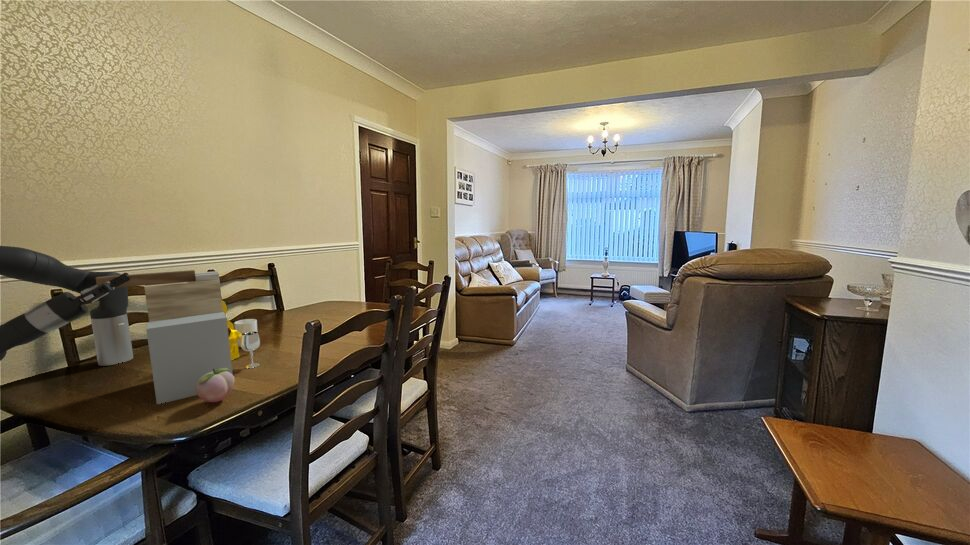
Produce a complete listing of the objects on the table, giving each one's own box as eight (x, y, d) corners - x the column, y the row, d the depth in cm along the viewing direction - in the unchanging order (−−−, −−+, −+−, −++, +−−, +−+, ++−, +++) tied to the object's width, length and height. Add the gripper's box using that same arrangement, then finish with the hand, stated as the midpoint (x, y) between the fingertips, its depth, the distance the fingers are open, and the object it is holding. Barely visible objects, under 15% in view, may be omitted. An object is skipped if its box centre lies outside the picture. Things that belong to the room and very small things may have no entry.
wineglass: (239, 367, 129) (235, 334, 127) (254, 362, 134) (251, 330, 132) (250, 370, 126) (247, 336, 125) (265, 364, 132) (262, 331, 130)
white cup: (248, 348, 148) (245, 324, 147) (231, 347, 150) (229, 323, 148) (263, 342, 156) (261, 319, 154) (247, 341, 157) (245, 318, 156)
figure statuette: (205, 369, 128) (198, 307, 124) (195, 364, 132) (187, 305, 128) (258, 353, 143) (253, 298, 140) (247, 349, 147) (242, 295, 144)
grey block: (158, 393, 110) (148, 322, 107) (230, 376, 121) (223, 312, 118) (156, 404, 103) (146, 328, 100) (233, 386, 114) (226, 317, 111)
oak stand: (159, 379, 120) (146, 282, 115) (226, 365, 131) (217, 276, 127) (158, 389, 112) (144, 286, 108) (229, 373, 124) (219, 280, 119)
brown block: (100, 286, 108) (98, 275, 108) (217, 277, 126) (216, 267, 125) (96, 290, 102) (94, 279, 102) (219, 279, 120) (218, 270, 119)
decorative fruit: (214, 394, 109) (211, 362, 108) (241, 394, 109) (238, 362, 107) (188, 410, 100) (184, 375, 98) (218, 410, 100) (214, 375, 98)
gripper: (37, 306, 94) (114, 267, 102) (51, 297, 104) (120, 263, 113) (63, 328, 97) (136, 289, 105) (75, 317, 108) (140, 282, 116)
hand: (128, 275), depth 109 cm, fingers closed on brown block, 3 cm apart
